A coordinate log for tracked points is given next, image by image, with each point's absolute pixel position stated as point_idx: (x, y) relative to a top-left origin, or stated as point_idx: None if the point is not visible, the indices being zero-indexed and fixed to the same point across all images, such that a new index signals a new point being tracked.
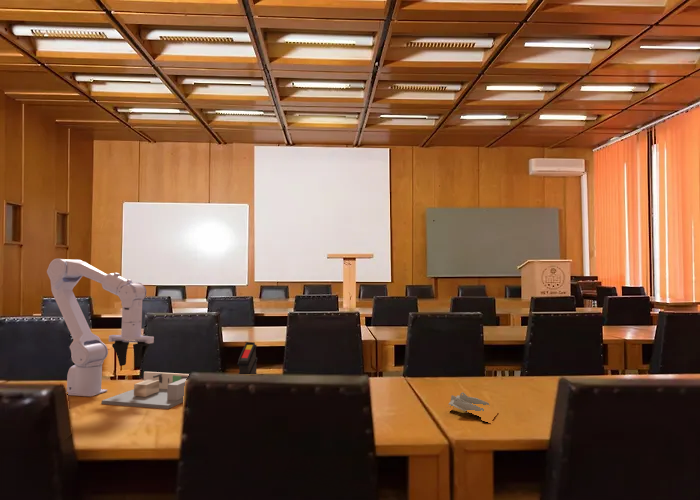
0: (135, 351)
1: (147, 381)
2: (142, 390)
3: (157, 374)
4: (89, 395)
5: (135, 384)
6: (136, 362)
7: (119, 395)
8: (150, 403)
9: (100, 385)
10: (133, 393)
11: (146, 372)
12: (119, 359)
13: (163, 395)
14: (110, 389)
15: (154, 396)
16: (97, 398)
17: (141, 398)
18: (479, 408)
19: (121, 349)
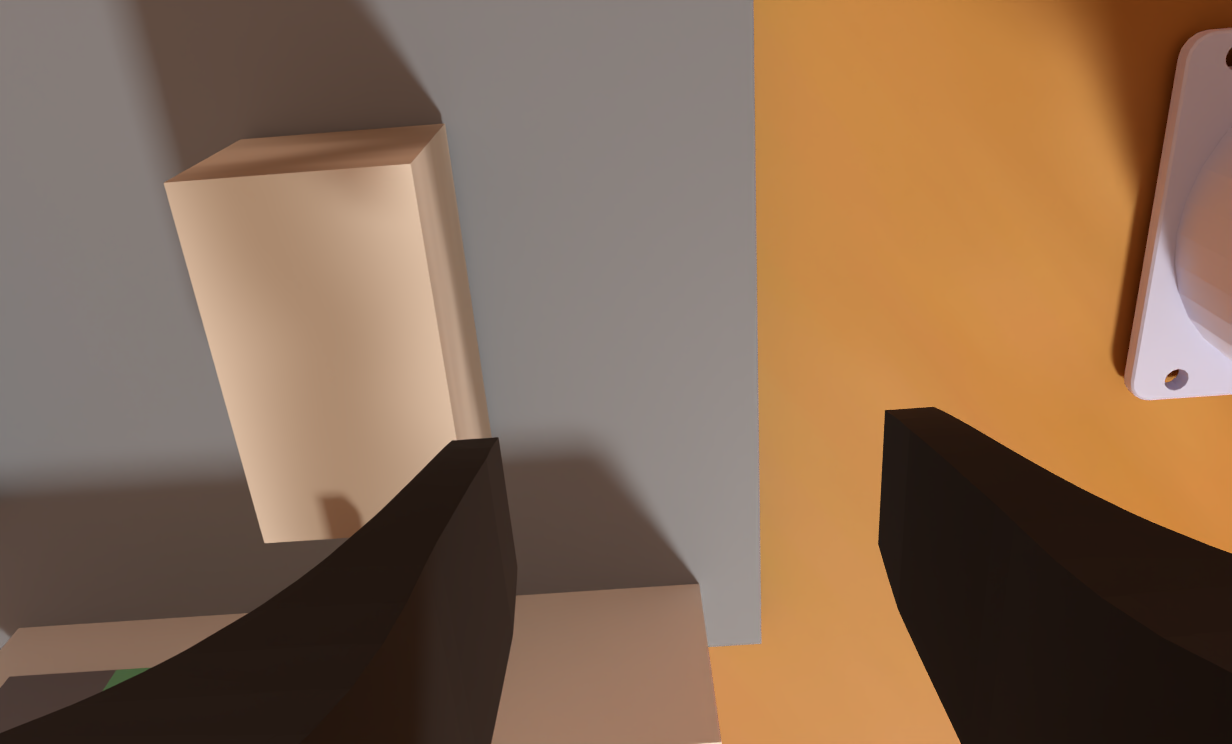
0: (327, 639)
1: (366, 415)
2: (266, 153)
3: None
4: (1211, 31)
5: (383, 164)
6: (423, 475)
7: (698, 105)
8: None
9: (1228, 307)
10: (589, 278)
11: (673, 740)
12: (978, 457)
13: (111, 319)
14: (1148, 487)
15: (175, 229)
16: (1031, 10)
17: (248, 60)
18: None
19: (1086, 719)
